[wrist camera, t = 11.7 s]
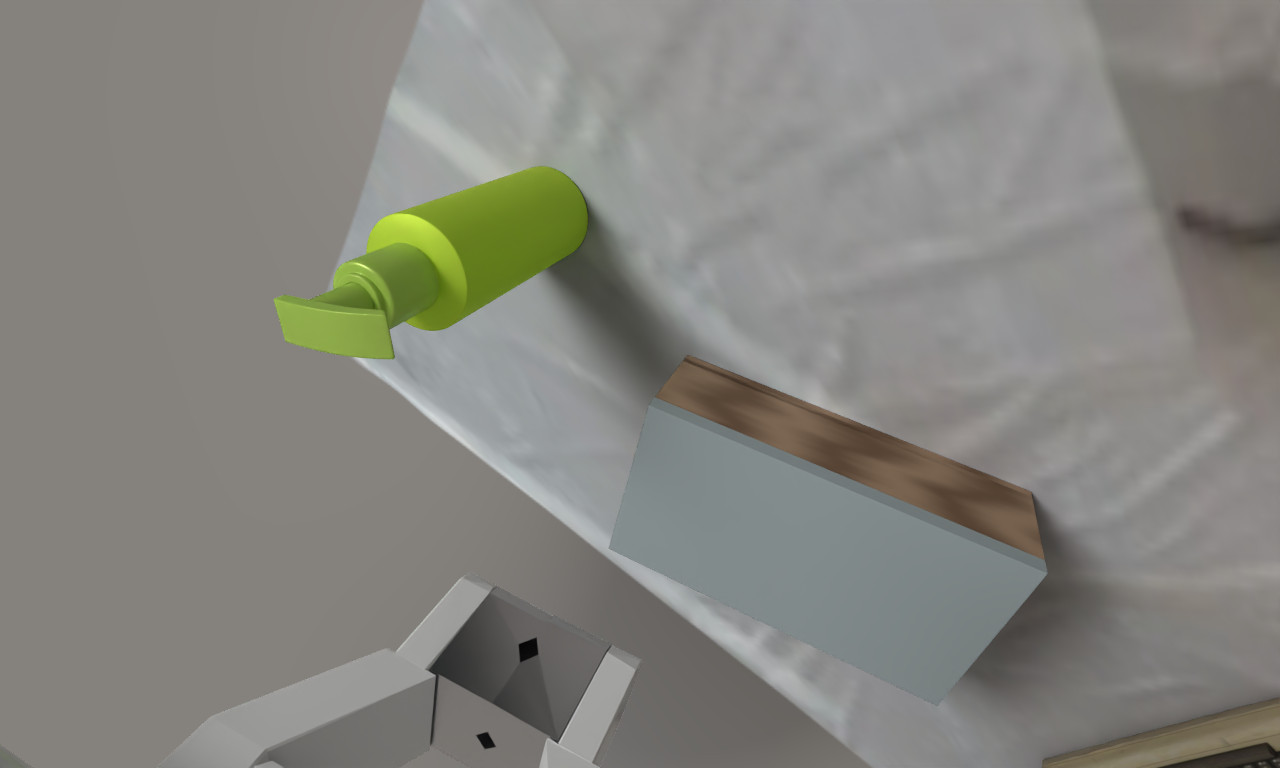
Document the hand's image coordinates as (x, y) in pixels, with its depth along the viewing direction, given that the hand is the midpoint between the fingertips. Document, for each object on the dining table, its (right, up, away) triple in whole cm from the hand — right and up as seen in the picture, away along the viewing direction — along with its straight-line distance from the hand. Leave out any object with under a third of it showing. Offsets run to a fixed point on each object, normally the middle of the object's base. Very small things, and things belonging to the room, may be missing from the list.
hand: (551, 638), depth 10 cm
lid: (+11, -6, +29) cm, 31 cm away
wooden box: (+13, -3, +34) cm, 36 cm away
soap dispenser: (-4, +15, +32) cm, 36 cm away
